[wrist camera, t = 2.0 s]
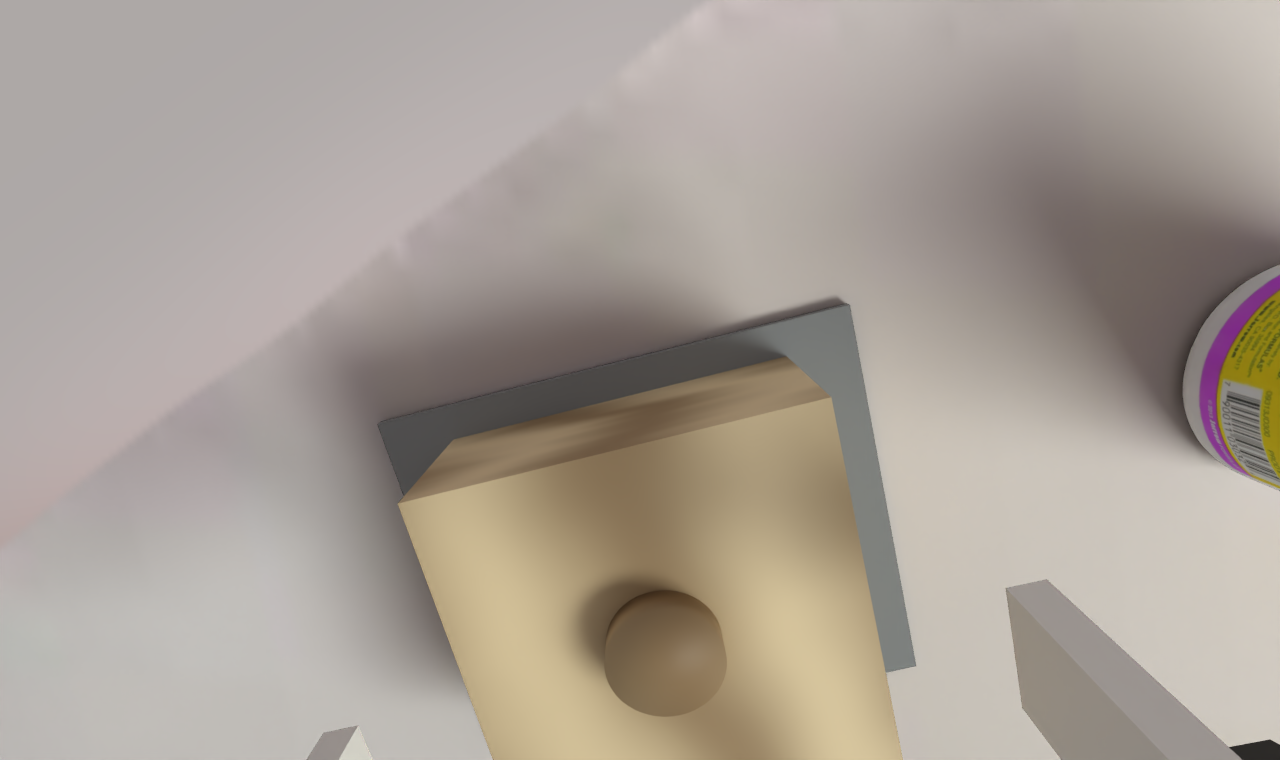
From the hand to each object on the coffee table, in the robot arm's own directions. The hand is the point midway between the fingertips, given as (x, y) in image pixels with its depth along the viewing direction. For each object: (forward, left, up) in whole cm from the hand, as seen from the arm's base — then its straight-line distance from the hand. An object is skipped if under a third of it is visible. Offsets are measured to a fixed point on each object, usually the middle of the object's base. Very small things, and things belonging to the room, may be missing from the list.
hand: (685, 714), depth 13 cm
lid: (0, 0, -7) cm, 7 cm away
